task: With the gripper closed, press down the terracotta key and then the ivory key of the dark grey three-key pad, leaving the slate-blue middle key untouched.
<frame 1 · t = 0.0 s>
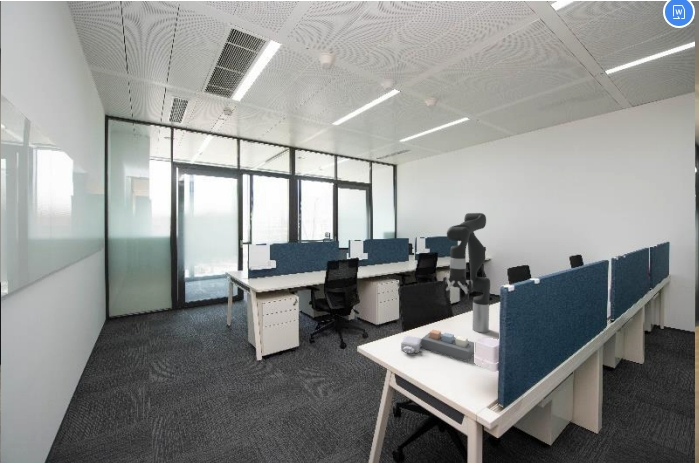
hand: (457, 299, 142), 29 cm above the table, fingers open, 8 cm apart
keypad: (447, 349, 151), on the table
key ivory: (461, 343, 146), point 6 cm above the table, slide at 0.0 cm
charger: (410, 351, 151), on the table
key slate: (448, 339, 151), point 6 cm above the table, slide at 0.0 cm
key terracotta: (435, 336, 155), point 6 cm above the table, slide at 0.0 cm
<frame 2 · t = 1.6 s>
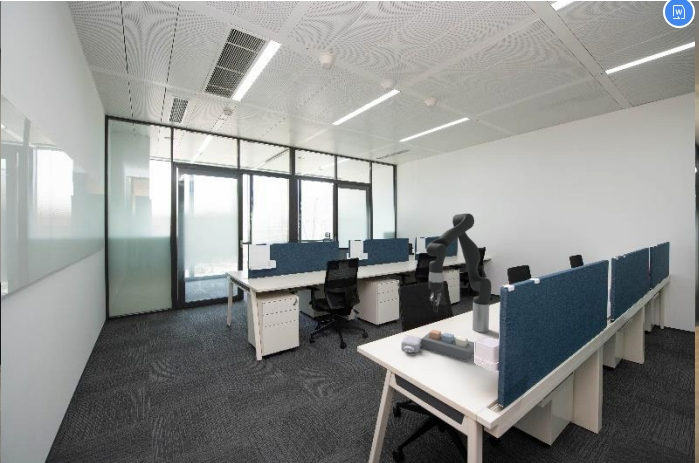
hand: (435, 311, 155), 19 cm above the table, fingers closed
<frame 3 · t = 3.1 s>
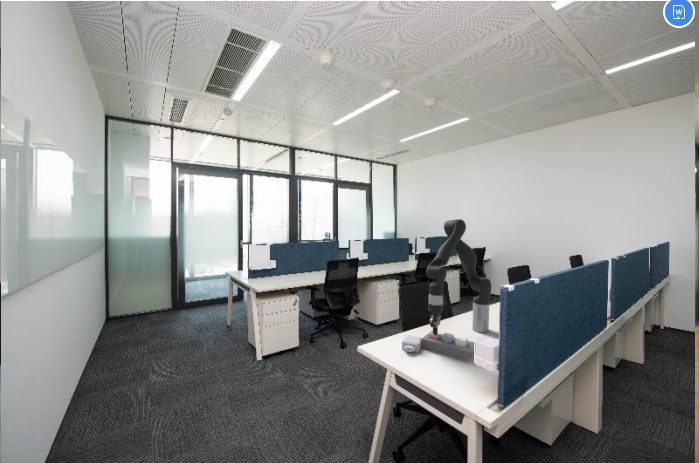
hand: (435, 334, 155), 7 cm above the table, fingers closed
key terracotta: (435, 338, 155), point 4 cm above the table, slide at 1.3 cm, touching gripper
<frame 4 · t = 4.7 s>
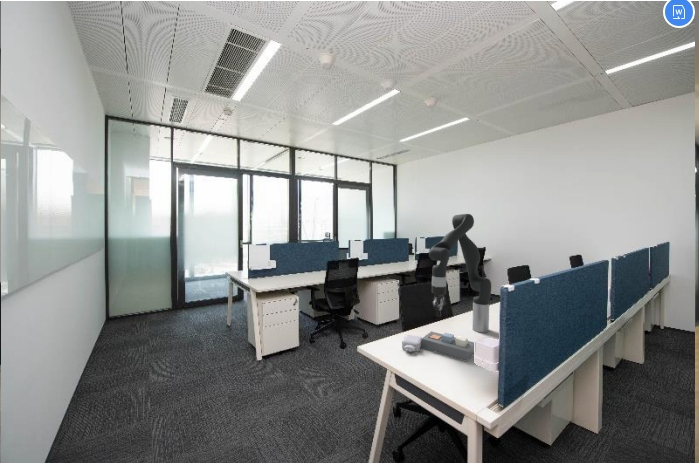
hand: (438, 316, 154), 17 cm above the table, fingers closed
key terracotta: (435, 341, 155), point 3 cm above the table, slide at 2.7 cm
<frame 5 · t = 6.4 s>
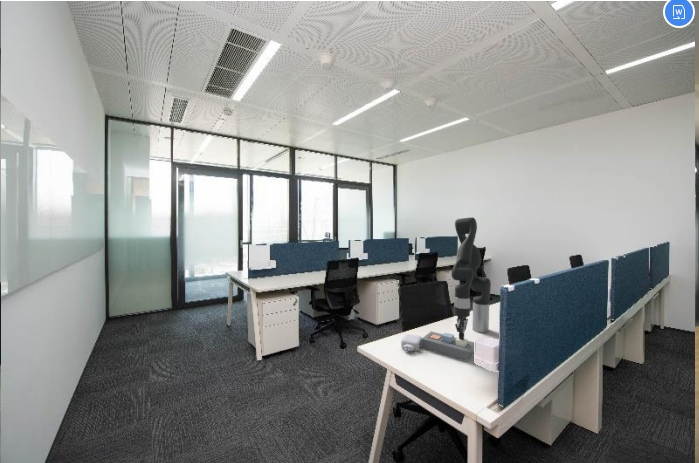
hand: (461, 339, 146), 8 cm above the table, fingers closed
key ivory: (461, 344, 147), point 5 cm above the table, slide at 0.4 cm, touching gripper
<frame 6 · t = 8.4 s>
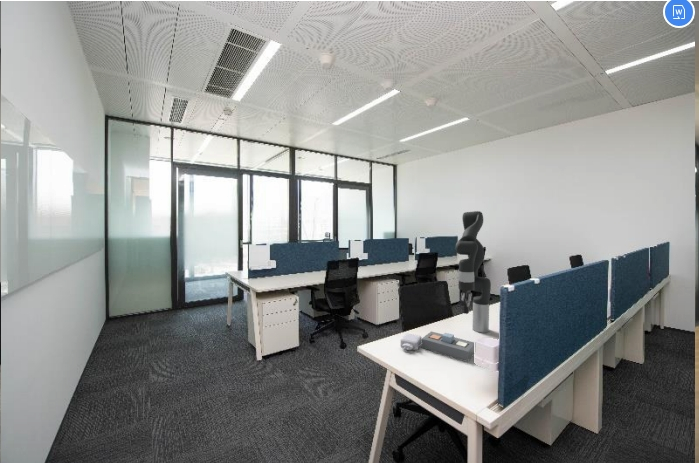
hand: (466, 313, 147), 21 cm above the table, fingers closed
key ivory: (461, 348, 147), point 3 cm above the table, slide at 2.7 cm
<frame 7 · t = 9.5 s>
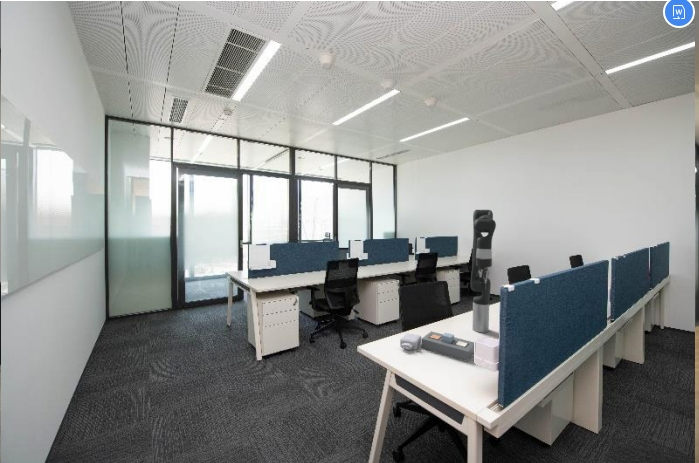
hand: (483, 289, 150), 32 cm above the table, fingers closed
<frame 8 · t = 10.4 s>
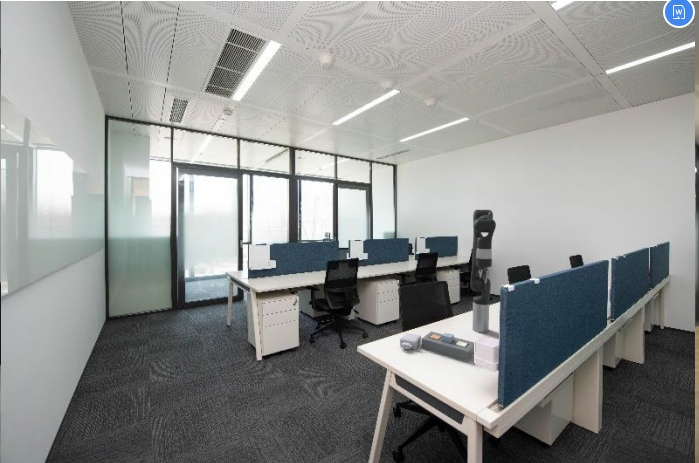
hand: (483, 289, 150), 32 cm above the table, fingers closed
at the end: key terracotta slide at 2.7 cm; key ivory slide at 2.7 cm; key slate slide at 0.0 cm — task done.
